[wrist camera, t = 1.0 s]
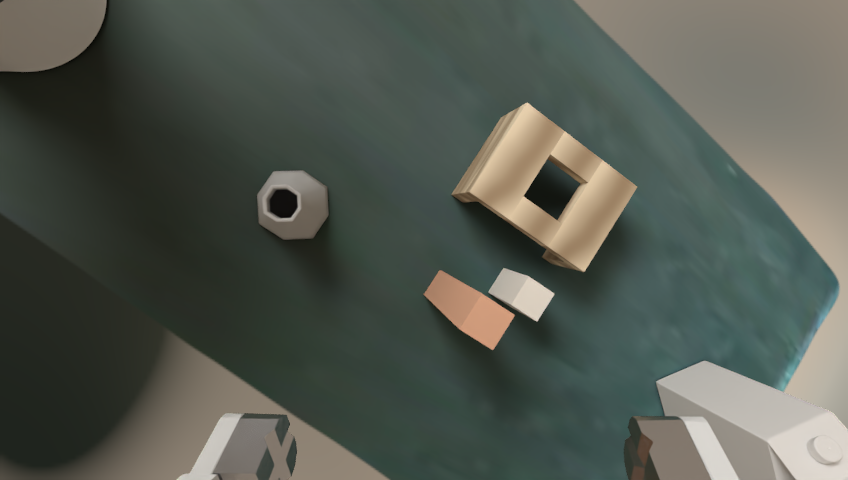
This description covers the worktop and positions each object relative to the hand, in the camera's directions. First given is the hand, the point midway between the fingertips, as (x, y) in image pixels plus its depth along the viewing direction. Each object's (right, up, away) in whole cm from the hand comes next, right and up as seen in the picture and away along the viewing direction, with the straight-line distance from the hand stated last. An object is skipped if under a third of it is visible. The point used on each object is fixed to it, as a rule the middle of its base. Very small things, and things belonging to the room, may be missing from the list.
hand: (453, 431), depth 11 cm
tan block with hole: (+11, +10, +40) cm, 43 cm away
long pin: (+1, -1, +39) cm, 39 cm away
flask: (-14, +8, +36) cm, 40 cm away
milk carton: (+31, -14, +46) cm, 57 cm away
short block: (+9, -1, +41) cm, 42 cm away
